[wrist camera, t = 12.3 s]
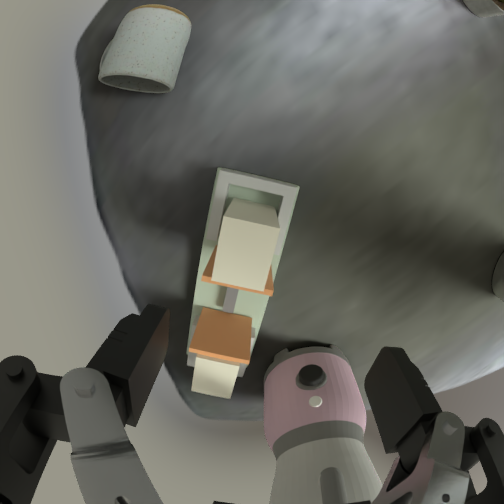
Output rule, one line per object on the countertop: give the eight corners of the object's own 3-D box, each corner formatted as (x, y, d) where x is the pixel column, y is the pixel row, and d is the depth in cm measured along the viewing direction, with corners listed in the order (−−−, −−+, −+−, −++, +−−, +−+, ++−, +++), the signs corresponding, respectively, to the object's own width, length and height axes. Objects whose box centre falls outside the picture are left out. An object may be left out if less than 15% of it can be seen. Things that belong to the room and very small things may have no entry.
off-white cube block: (225, 195, 27) (211, 213, 19) (282, 208, 27) (291, 231, 19) (215, 248, 28) (200, 283, 21) (269, 260, 29) (272, 299, 21)
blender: (346, 393, 38) (388, 579, 8) (269, 404, 39) (269, 598, 9) (351, 311, 32) (449, 572, 2) (253, 326, 33) (238, 616, 3)
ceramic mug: (202, 29, 22) (183, -4, 14) (182, 96, 24) (155, 78, 17) (118, 31, 21) (84, 8, 14) (99, 92, 24) (58, 82, 17)
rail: (297, 185, 27) (315, 201, 18) (247, 359, 35) (244, 415, 26) (219, 167, 27) (200, 174, 18) (188, 346, 35) (171, 399, 26)
